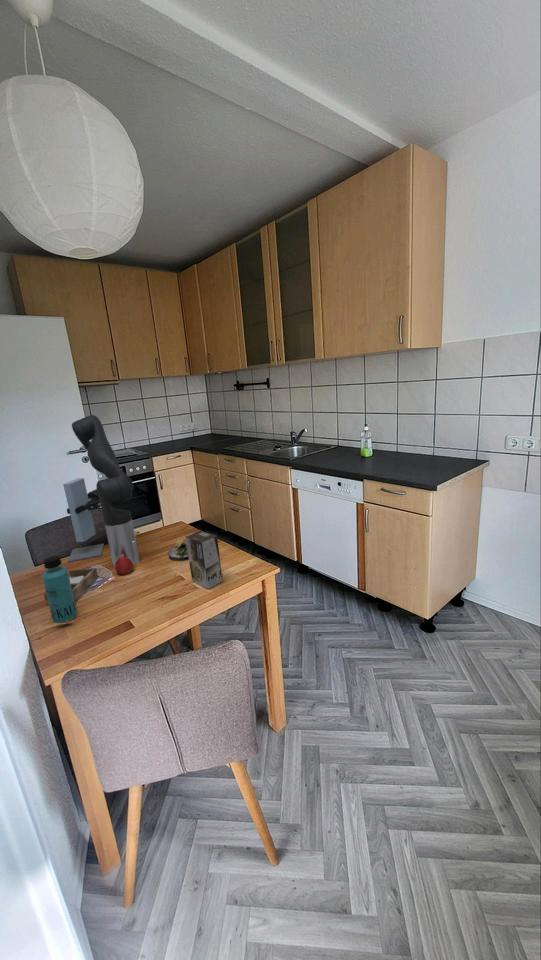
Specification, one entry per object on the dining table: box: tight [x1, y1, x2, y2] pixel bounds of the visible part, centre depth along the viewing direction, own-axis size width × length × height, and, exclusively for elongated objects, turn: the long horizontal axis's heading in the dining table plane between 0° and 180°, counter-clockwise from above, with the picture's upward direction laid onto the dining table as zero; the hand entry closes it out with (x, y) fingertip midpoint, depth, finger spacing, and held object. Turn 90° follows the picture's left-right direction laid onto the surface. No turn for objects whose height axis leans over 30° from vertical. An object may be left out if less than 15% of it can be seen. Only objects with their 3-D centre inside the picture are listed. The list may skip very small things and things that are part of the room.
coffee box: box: [184, 530, 224, 590], centre depth 123 cm, size 9×6×16 cm
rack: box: [43, 567, 99, 606], centre depth 123 cm, size 16×9×5 cm, turn 178°
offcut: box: [69, 576, 84, 584], centre depth 126 cm, size 5×6×2 cm
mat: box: [67, 543, 105, 563], centre depth 155 cm, size 12×12×1 cm
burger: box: [167, 538, 188, 562], centre depth 146 cm, size 12×12×8 cm
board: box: [62, 477, 97, 543], centre depth 152 cm, size 8×3×24 cm, turn 168°
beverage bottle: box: [41, 555, 78, 624], centre depth 107 cm, size 6×7×20 cm
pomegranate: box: [114, 554, 134, 576], centre depth 133 cm, size 6×6×8 cm
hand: (72, 511), depth 147 cm, fingers closed on board, 3 cm apart
